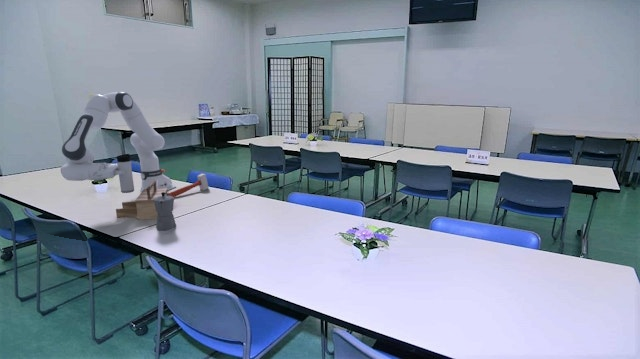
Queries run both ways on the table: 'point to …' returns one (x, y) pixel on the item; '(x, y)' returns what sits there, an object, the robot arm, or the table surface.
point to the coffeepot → (164, 212)
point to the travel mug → (126, 178)
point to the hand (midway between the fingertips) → (127, 170)
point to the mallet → (192, 186)
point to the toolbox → (142, 204)
